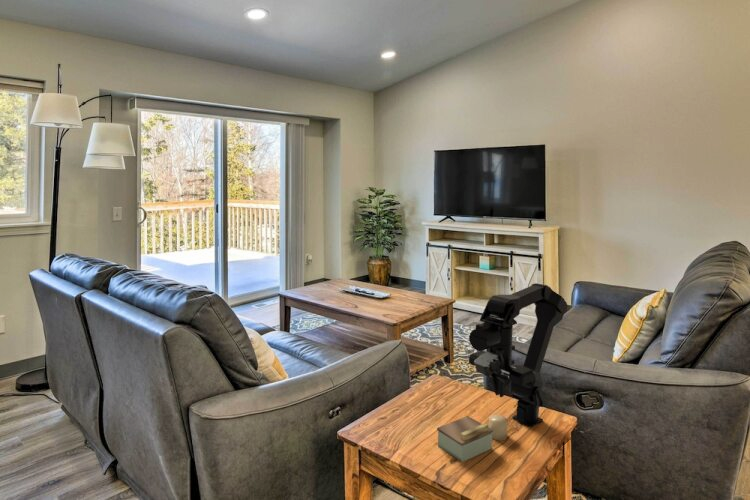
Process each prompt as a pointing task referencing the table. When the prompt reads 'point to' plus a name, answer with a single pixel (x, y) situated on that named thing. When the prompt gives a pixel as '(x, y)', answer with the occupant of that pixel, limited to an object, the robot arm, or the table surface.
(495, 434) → the dome-topped beige cylinder
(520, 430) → the table surface
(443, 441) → the box body
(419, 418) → the table surface
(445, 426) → the lid
